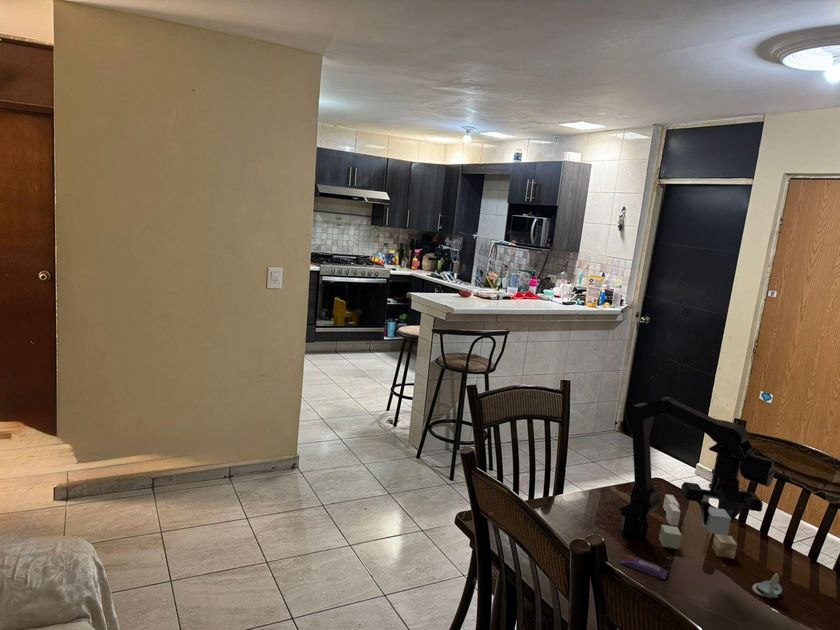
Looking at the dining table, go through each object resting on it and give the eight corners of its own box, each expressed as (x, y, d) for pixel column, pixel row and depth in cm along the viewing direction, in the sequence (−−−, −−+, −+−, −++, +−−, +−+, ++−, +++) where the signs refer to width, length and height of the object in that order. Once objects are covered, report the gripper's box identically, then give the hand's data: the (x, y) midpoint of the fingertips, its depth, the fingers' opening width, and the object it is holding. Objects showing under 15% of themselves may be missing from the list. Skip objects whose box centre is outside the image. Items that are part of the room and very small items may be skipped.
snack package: (668, 567, 153) (665, 576, 149) (667, 574, 153) (664, 583, 149) (624, 551, 159) (620, 559, 155) (623, 557, 159) (618, 565, 155)
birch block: (717, 556, 164) (720, 541, 163) (712, 547, 168) (714, 533, 168) (734, 559, 163) (737, 544, 163) (728, 550, 168) (731, 536, 167)
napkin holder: (660, 504, 194) (663, 488, 193) (695, 519, 186) (698, 502, 185) (641, 517, 183) (644, 501, 182) (677, 533, 175) (680, 516, 174)
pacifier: (748, 593, 148) (774, 604, 144) (752, 570, 147) (778, 581, 143) (757, 582, 153) (782, 593, 149) (760, 560, 152) (786, 571, 148)
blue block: (707, 532, 152) (711, 515, 151) (701, 523, 157) (705, 506, 156) (727, 536, 151) (731, 518, 151) (721, 526, 156) (724, 509, 155)
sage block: (662, 546, 166) (665, 532, 165) (658, 538, 170) (661, 524, 170) (678, 549, 165) (681, 535, 165) (674, 541, 170) (677, 527, 169)
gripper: (698, 478, 145) (687, 535, 148) (777, 490, 142) (765, 548, 145) (685, 461, 156) (675, 514, 158) (758, 472, 153) (747, 526, 156)
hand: (715, 525), depth 154 cm, fingers closed on blue block, 5 cm apart
